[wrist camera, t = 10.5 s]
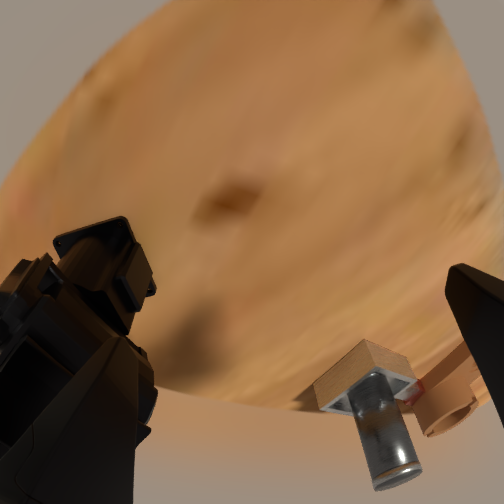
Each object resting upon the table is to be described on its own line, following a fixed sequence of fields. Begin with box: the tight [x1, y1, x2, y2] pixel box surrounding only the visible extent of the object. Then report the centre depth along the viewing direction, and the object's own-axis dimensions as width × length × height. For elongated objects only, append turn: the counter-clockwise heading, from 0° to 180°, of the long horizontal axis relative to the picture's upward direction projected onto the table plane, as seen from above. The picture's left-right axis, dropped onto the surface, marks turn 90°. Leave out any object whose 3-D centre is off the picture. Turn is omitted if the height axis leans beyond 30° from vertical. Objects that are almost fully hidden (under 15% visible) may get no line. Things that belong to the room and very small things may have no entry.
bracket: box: [412, 341, 481, 437], centre depth 30 cm, size 18×8×7 cm, turn 146°
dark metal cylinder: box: [347, 375, 422, 491], centre depth 23 cm, size 4×4×11 cm
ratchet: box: [313, 339, 426, 416], centre depth 30 cm, size 8×18×3 cm, turn 57°
